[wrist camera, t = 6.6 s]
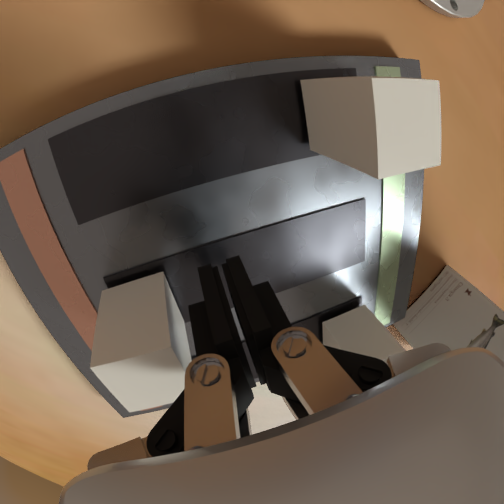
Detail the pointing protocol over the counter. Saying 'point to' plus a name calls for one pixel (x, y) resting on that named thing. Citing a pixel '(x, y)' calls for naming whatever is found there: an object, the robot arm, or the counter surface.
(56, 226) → the panel
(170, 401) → the block
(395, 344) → the block
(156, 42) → the counter surface
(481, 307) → the supplement box
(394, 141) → the block
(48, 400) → the counter surface
